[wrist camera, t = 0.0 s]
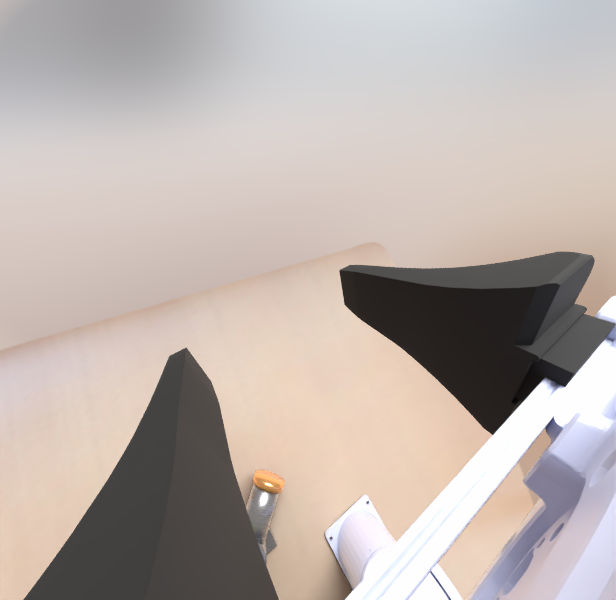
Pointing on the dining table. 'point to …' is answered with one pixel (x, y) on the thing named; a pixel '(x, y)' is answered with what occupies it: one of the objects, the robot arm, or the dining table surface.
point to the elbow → (263, 504)
